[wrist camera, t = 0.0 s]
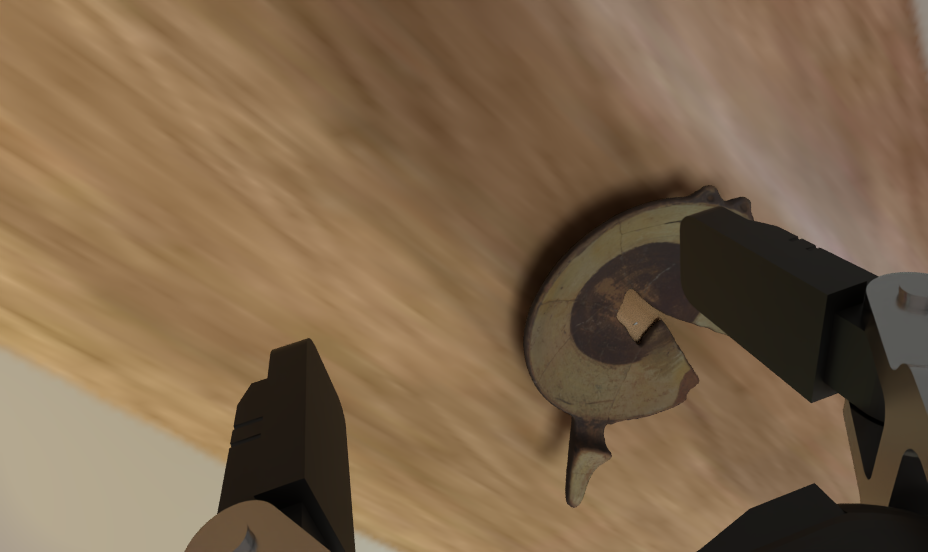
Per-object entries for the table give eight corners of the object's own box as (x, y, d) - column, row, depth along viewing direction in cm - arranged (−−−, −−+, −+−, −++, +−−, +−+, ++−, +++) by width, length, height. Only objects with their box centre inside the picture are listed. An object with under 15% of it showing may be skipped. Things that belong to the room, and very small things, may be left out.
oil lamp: (779, 262, 53) (845, 301, 46) (569, 465, 59) (601, 524, 52) (653, 115, 42) (716, 137, 36) (413, 379, 48) (429, 440, 42)
